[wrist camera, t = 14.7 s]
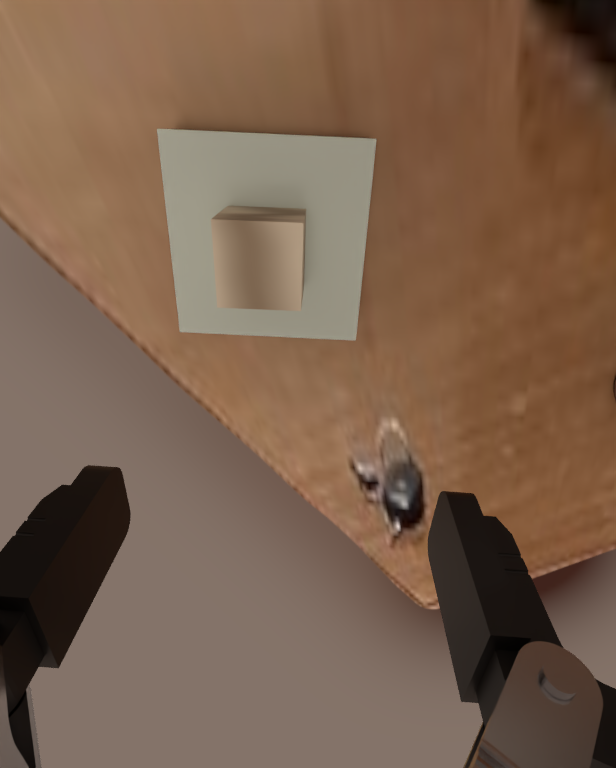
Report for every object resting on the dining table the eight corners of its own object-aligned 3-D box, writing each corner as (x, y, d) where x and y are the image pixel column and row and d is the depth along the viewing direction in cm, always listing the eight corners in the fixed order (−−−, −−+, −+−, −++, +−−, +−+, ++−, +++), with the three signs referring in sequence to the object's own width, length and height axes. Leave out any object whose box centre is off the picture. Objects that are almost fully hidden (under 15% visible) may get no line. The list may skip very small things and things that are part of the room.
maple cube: (306, 208, 28) (303, 223, 24) (303, 285, 31) (301, 311, 26) (227, 205, 28) (210, 219, 24) (232, 282, 31) (217, 307, 26)
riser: (370, 138, 29) (376, 138, 26) (352, 320, 36) (355, 340, 32) (176, 129, 30) (157, 128, 26) (193, 312, 36) (179, 332, 33)
